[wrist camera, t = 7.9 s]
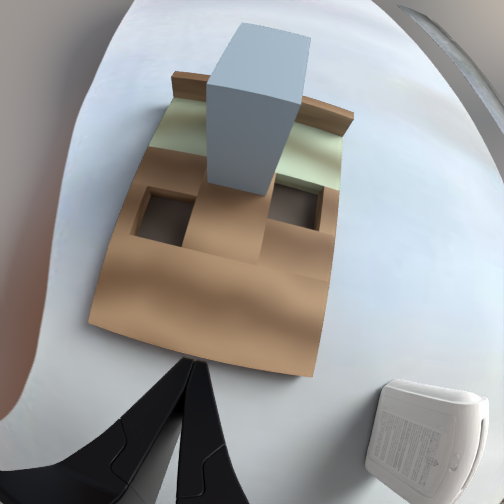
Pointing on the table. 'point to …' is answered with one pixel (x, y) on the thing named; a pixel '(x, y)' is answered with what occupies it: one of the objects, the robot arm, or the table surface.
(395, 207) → the table surface
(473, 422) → the photo printer
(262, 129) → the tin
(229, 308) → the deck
